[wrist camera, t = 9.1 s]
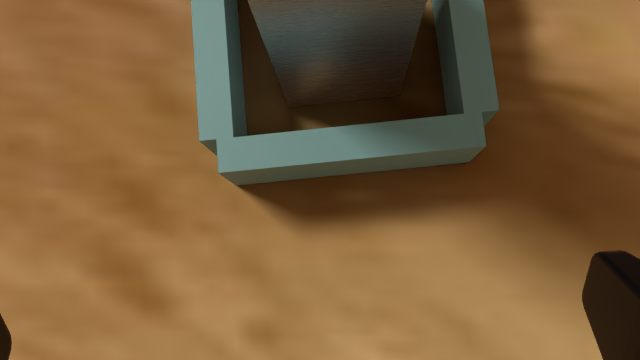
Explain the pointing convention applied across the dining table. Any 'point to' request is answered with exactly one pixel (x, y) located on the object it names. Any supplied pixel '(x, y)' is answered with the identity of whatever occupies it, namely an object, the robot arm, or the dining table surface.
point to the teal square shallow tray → (354, 140)
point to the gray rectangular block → (338, 46)
